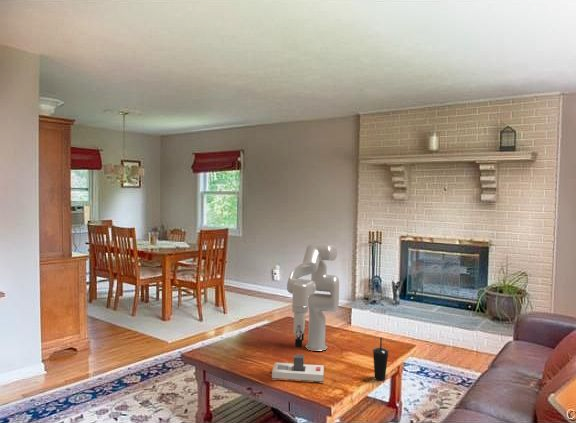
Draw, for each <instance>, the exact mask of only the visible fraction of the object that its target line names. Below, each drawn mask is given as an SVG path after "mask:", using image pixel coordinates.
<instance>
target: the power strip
mask: <svg viewBox="0 0 576 423" xmlns="http://www.w3.org/2000/svg"><path fill="white" fill-rule="evenodd" d="M324 369H325V365H323V364H322V365H319V364H306V363H304V368H303V371H294V363H290V362H274V365H273V368H272V371H271V380H272V379H289V380H301V381H313V382H323V383H324V374H325V370H324Z"/></svg>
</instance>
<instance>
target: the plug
mask: <svg viewBox="0 0 576 423" xmlns="http://www.w3.org/2000/svg"><path fill="white" fill-rule="evenodd" d="M304 360H305V355H304V354H294V356H293V364H294V371H303V368H304V364H305V361H304Z"/></svg>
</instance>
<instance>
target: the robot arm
mask: <svg viewBox="0 0 576 423" xmlns="http://www.w3.org/2000/svg"><path fill="white" fill-rule="evenodd" d="M337 256H338V249H337V247H336V245H334V244H325V243H324V244H322V243H321V244H320V243H311V244H309V245H307V246H306V249H305V253H304V257H303V260H302V263H300V264H299V265H298V266H296V267H295V268H294V269H293V270H291V272H290V273H289V277H288V280H287V284H286V291H287V292H288V293H289V294H291V295H292V300H291V301H292V304H291V305H292V307H291V311H292V313H293V330H292V332H293V334H294V335H295V340H294V342H295V344H294V347H295V348H301V349H302V348H303V341H304V339H305V338H304V334H305V325H306V314H307V313H308V338H307V339H308V340H307V342H308V343H306V345H305V347H306V348H307V349H309V350H315V351H322V350H326V349H327V348H328V345H326V320H327V319H326V316H325V313H324V312H329V313H330V312H331V313H334V312H337V311H338V310H339V305H340V302H339V299H340V280H339V277H338V276H337V275H334V274H333V275H332V274H327V263H326V262H325V261H330V262H332V261H335V260H336V259H337ZM309 275H311V276H310V277H311V279H303V278H302V277H305V276H309ZM316 291H317V292H316ZM319 292H326V293H319ZM327 293H328V294H327ZM329 293H330V294H329ZM306 348H305V349H306ZM307 349H306V350H307ZM309 350H308V351H309ZM327 350H328V349H327ZM327 350H326V351H327Z"/></svg>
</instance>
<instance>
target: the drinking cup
mask: <svg viewBox="0 0 576 423" xmlns="http://www.w3.org/2000/svg"><path fill="white" fill-rule="evenodd" d="M379 338H380V339H379V340H380V341H379V345H380V346H379V347H375V348H373V349H372V353H373V354H372V355H373V369H374V379H375V378H376V379H375V380H377V381H378V382H379V381H381V382H382V381H383V382H384V381H385V380H386V375H387V374H386V373H387V367H388V358H389V357H388V356H389V353H390V351H389V350H388V349H386V348H384V347H382V342H383V337H381V336H380V337H379Z"/></svg>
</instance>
